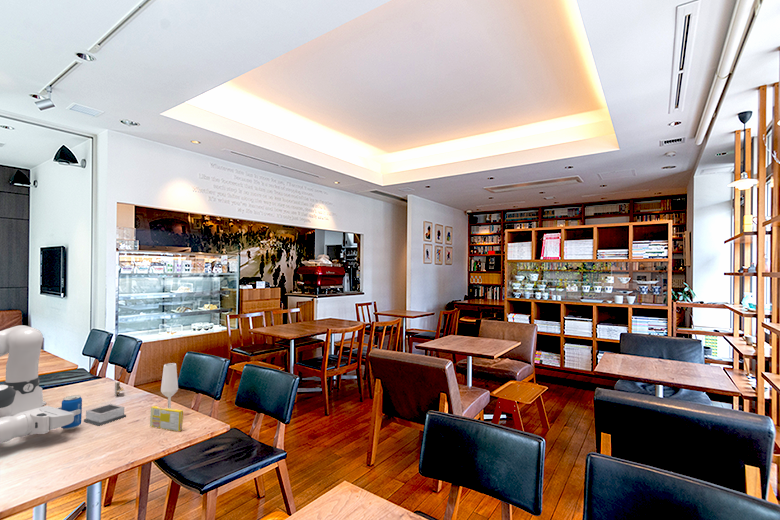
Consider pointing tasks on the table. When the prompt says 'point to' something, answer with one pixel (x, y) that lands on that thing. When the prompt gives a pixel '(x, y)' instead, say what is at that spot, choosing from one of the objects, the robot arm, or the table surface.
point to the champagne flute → (169, 381)
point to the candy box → (166, 418)
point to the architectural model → (118, 388)
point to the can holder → (104, 414)
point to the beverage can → (72, 409)
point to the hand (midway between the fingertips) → (74, 409)
